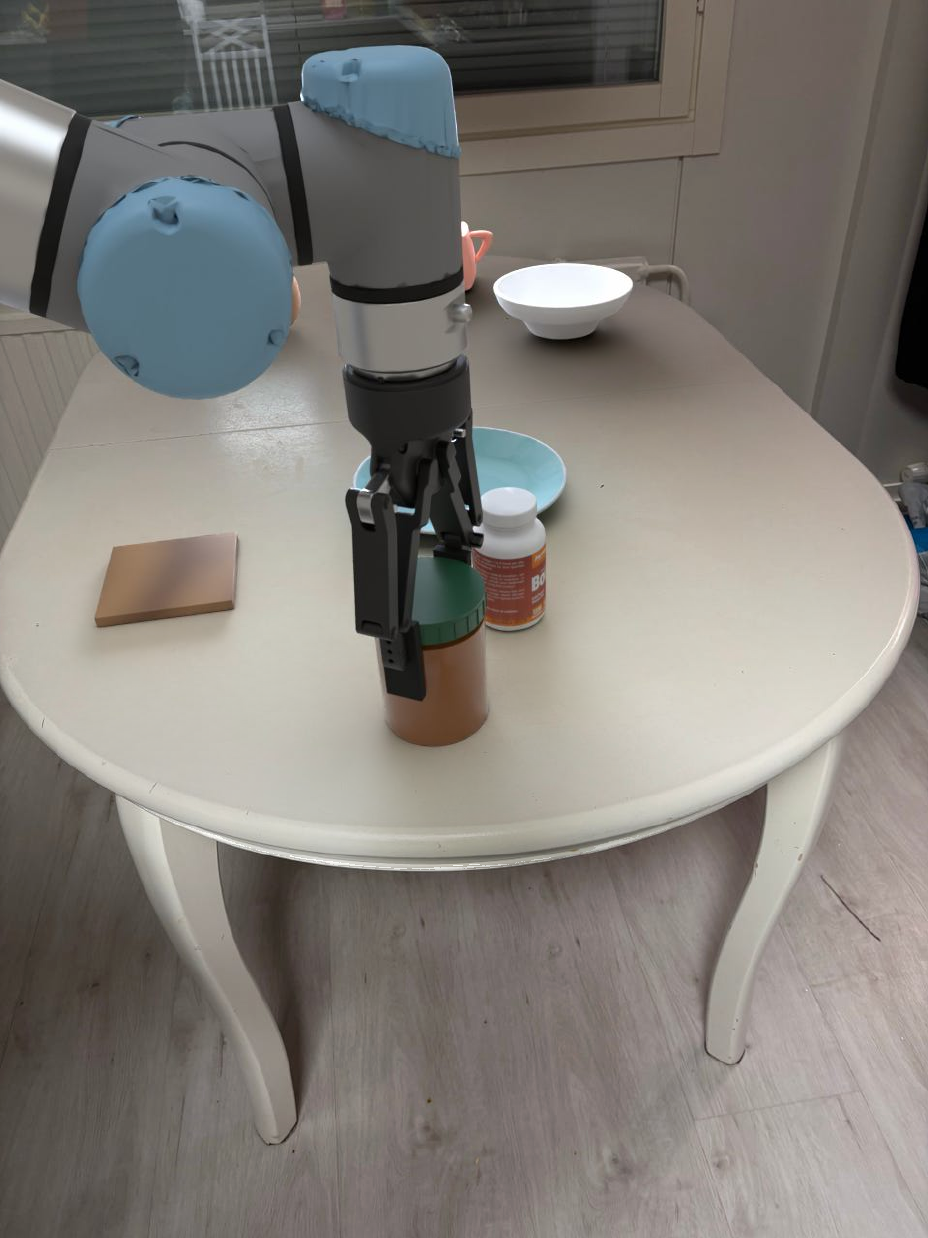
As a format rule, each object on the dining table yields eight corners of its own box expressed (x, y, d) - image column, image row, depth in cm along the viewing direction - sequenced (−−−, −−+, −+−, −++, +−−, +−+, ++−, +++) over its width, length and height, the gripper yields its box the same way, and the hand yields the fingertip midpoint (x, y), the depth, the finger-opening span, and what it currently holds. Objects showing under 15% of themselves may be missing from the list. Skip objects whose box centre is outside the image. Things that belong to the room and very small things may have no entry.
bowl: (553, 300, 145) (553, 255, 141) (657, 326, 134) (661, 278, 130) (467, 336, 134) (464, 289, 130) (572, 368, 123) (573, 317, 119)
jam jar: (390, 753, 68) (375, 639, 61) (380, 683, 74) (365, 573, 67) (497, 737, 68) (493, 623, 62) (478, 669, 75) (473, 559, 68)
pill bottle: (546, 633, 78) (546, 520, 71) (473, 633, 78) (466, 521, 72) (545, 591, 83) (546, 481, 76) (476, 591, 83) (471, 482, 77)
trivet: (97, 627, 82) (93, 618, 81) (115, 555, 91) (113, 546, 91) (234, 609, 83) (232, 600, 82) (238, 539, 92) (236, 531, 92)
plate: (539, 567, 86) (539, 541, 84) (320, 539, 92) (316, 515, 90) (585, 458, 103) (586, 435, 101) (398, 440, 108) (396, 418, 107)
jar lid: (510, 613, 65) (510, 592, 63) (412, 662, 61) (410, 641, 60) (441, 563, 70) (440, 543, 69) (347, 605, 66) (344, 585, 65)
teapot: (495, 293, 149) (493, 225, 143) (384, 299, 150) (377, 231, 144) (493, 272, 158) (492, 207, 152) (389, 277, 159) (383, 213, 153)
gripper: (380, 442, 45) (418, 767, 59) (526, 303, 61) (529, 587, 74) (251, 423, 48) (316, 738, 62) (422, 295, 63) (444, 570, 77)
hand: (432, 655), depth 68 cm, fingers closed on jar lid, 8 cm apart
